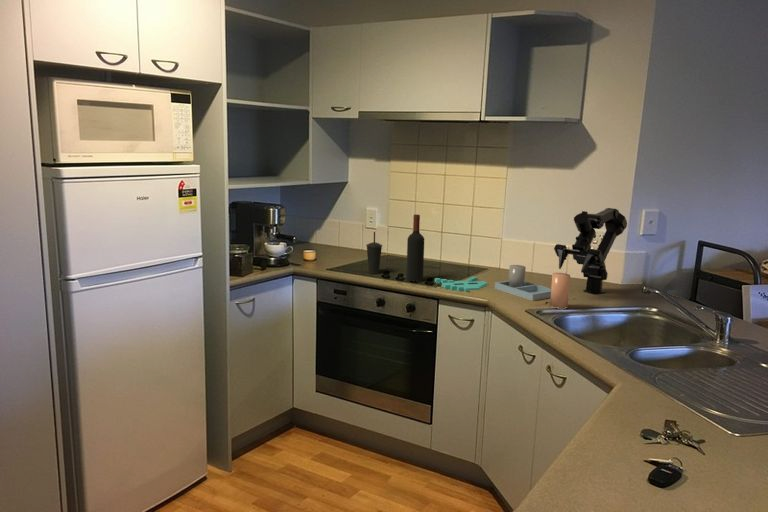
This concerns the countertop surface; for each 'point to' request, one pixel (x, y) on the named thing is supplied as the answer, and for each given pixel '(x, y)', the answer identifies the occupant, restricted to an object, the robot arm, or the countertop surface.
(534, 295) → the cup rack
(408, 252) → the wine bottle
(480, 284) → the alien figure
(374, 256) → the drinking cup
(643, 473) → the countertop surface
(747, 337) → the countertop surface
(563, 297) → the peach round cylinder
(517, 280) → the grey cylinder
